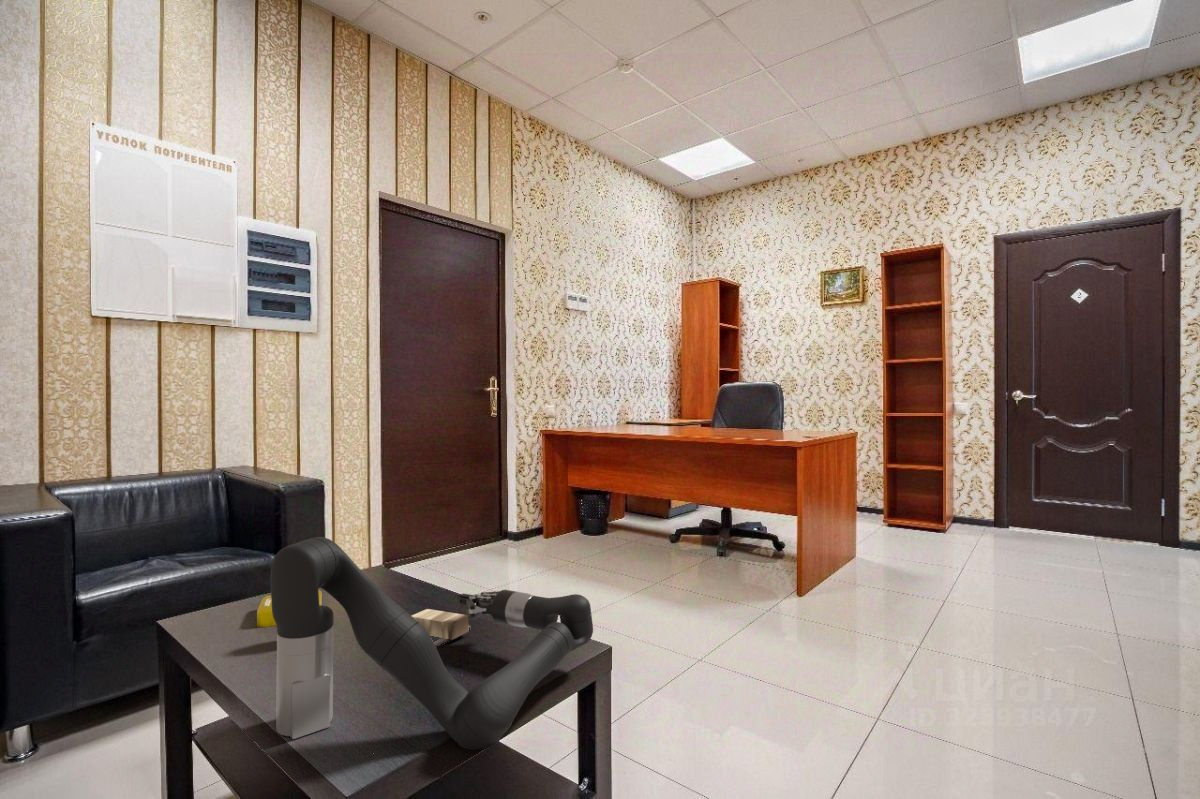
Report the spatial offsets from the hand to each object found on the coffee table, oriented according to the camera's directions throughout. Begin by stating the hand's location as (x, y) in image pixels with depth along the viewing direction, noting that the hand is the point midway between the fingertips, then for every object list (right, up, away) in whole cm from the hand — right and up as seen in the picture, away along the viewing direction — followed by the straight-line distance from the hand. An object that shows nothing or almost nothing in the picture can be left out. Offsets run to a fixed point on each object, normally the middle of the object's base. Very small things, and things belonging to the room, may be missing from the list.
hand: (460, 598), depth 143 cm
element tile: (-51, -11, +16) cm, 54 cm away
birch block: (0, -7, -1) cm, 7 cm away
